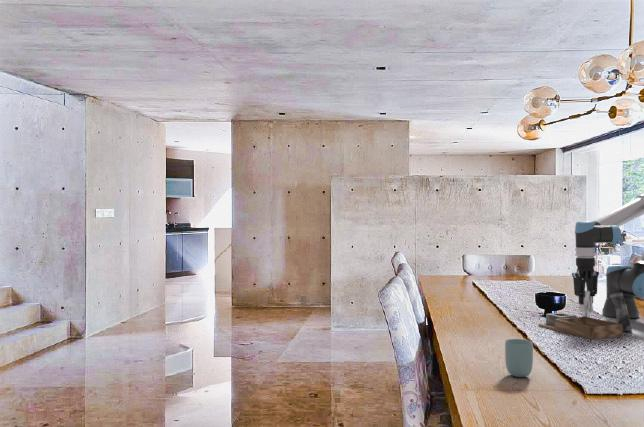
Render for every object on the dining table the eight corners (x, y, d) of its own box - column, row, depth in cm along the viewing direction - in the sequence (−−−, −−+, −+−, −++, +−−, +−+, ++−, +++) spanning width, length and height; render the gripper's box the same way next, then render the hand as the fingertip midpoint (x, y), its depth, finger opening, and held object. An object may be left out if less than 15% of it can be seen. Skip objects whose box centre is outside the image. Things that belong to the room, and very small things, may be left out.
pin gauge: (586, 319, 258) (585, 290, 258) (592, 321, 255) (591, 290, 255) (580, 320, 257) (580, 290, 257) (586, 321, 254) (586, 291, 254)
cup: (501, 372, 179) (501, 339, 179) (526, 371, 180) (526, 338, 180) (511, 379, 171) (511, 344, 171) (537, 378, 172) (537, 344, 172)
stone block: (619, 332, 237) (633, 330, 235) (608, 297, 239) (622, 294, 236) (619, 328, 245) (633, 326, 243) (608, 294, 247) (622, 291, 244)
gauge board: (567, 323, 256) (567, 311, 256) (622, 335, 230) (622, 323, 230) (538, 326, 250) (538, 314, 250) (591, 339, 224) (591, 326, 224)
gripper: (592, 255, 263) (593, 308, 263) (564, 257, 256) (565, 311, 257) (606, 256, 256) (607, 311, 256) (577, 258, 249) (578, 314, 250)
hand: (586, 311), depth 256 cm, fingers closed on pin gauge, 3 cm apart
